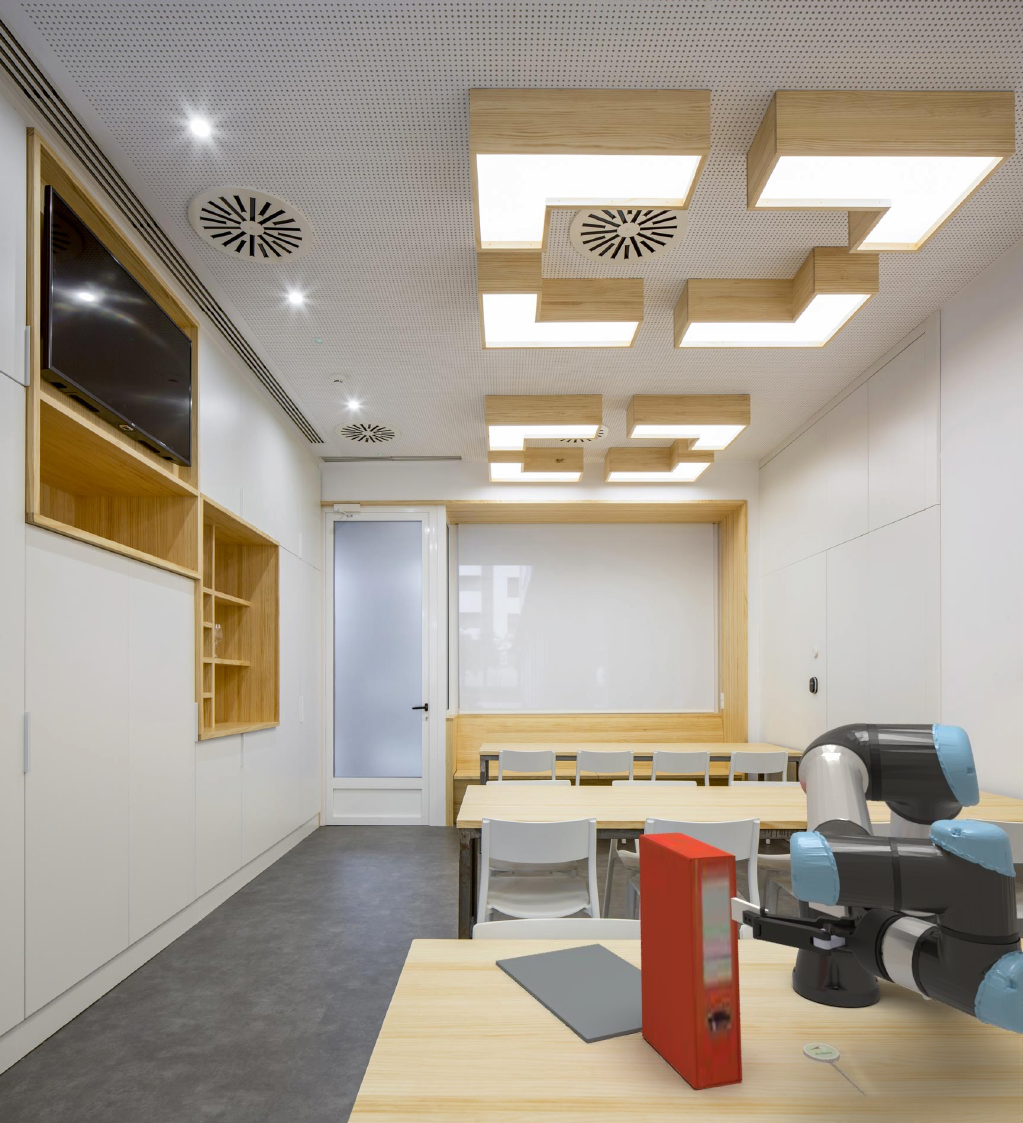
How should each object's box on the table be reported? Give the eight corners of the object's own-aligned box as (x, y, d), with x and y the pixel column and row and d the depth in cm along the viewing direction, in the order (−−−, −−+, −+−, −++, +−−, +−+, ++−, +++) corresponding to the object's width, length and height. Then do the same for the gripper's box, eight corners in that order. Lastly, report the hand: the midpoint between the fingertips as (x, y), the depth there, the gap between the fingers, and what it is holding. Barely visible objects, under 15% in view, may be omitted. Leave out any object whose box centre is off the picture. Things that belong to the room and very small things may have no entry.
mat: (598, 946, 175) (598, 943, 175) (709, 1016, 140) (708, 1012, 140) (495, 963, 165) (495, 960, 165) (587, 1043, 131) (587, 1039, 131)
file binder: (686, 1031, 135) (680, 831, 139) (744, 1082, 118) (735, 854, 122) (642, 1037, 132) (637, 835, 136) (694, 1090, 116) (687, 858, 120)
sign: (848, 1095, 114) (797, 1044, 129) (848, 1101, 114) (797, 1049, 129) (883, 1092, 115) (827, 1041, 130) (883, 1098, 115) (828, 1047, 129)
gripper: (822, 1003, 88) (700, 943, 107) (978, 968, 98) (841, 919, 117) (818, 930, 89) (698, 883, 108) (974, 902, 99) (838, 864, 118)
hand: (772, 902), depth 112 cm, fingers open, 13 cm apart
